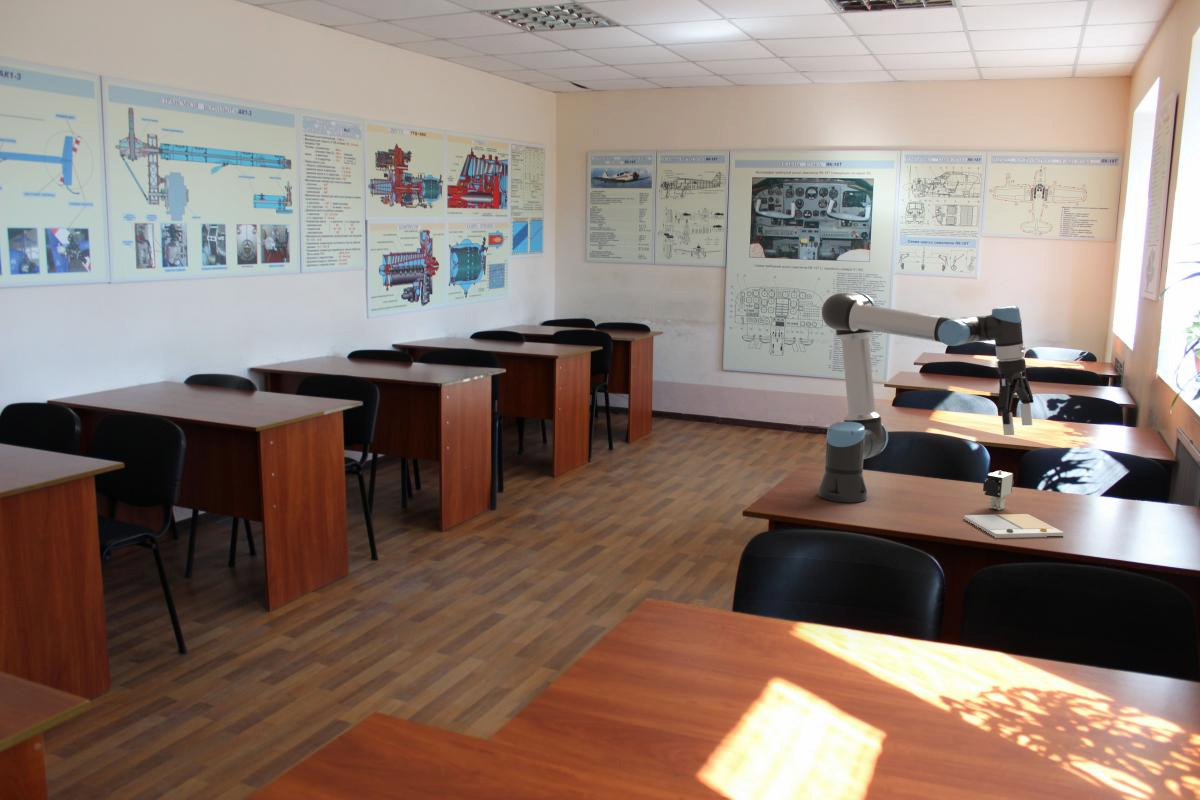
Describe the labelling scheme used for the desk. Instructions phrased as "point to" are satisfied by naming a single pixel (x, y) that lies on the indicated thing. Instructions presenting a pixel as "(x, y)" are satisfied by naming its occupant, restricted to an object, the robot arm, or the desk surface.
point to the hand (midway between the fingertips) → (1018, 430)
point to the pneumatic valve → (998, 487)
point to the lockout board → (1013, 526)
